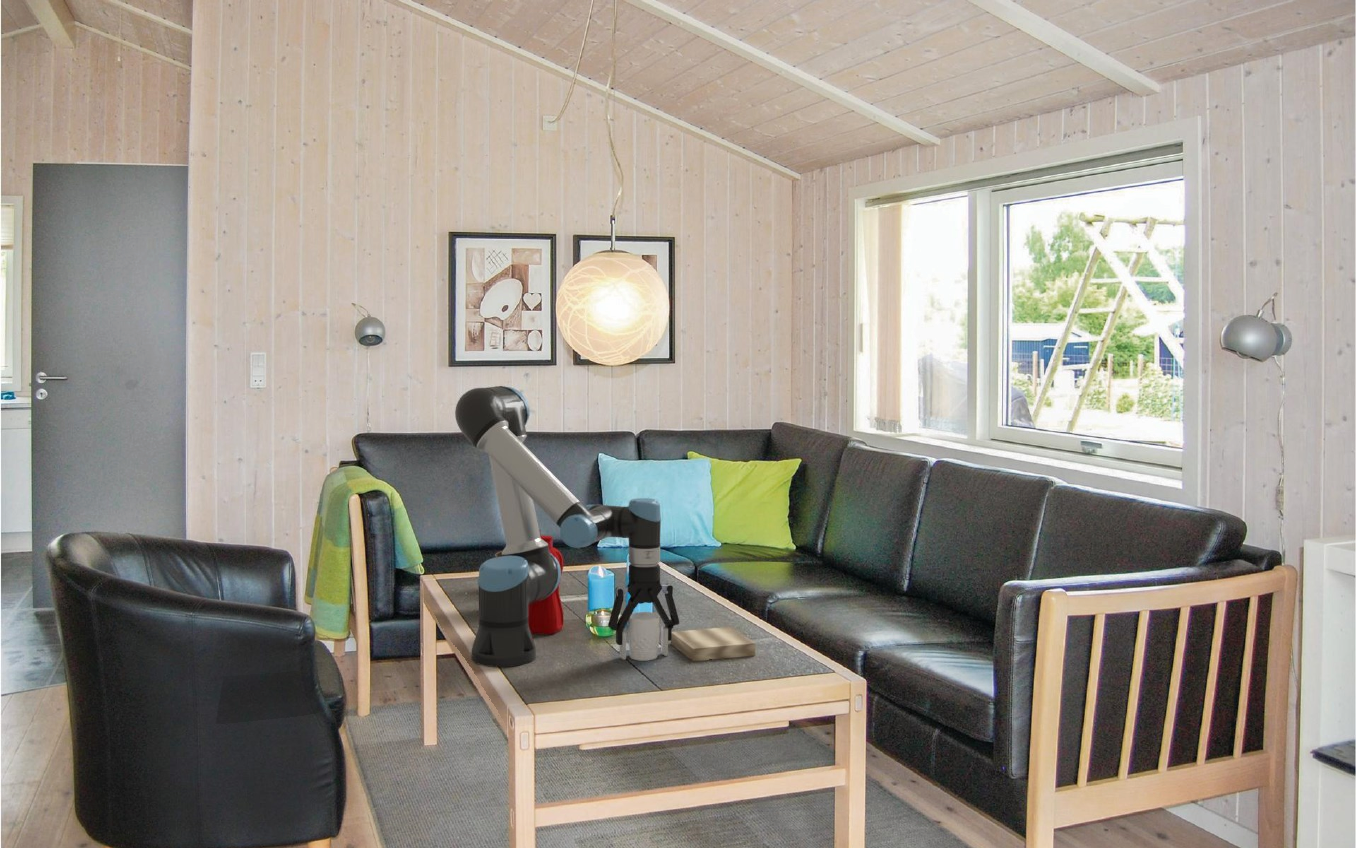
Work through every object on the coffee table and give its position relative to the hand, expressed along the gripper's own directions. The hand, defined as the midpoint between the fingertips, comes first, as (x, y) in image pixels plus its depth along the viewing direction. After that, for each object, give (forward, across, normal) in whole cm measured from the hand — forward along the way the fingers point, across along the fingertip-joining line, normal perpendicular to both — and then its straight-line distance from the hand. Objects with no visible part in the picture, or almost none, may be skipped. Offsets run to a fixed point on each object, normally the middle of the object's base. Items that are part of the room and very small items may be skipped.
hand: (643, 656), depth 266 cm
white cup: (0, 0, 0) cm, 0 cm away
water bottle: (0, -17, +31) cm, 35 cm away
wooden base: (0, +18, +1) cm, 18 cm away
